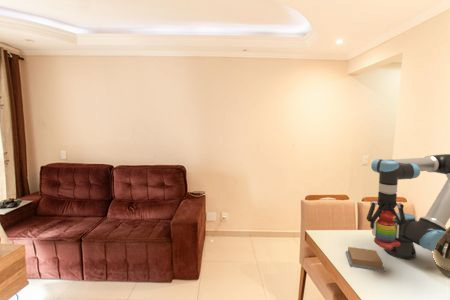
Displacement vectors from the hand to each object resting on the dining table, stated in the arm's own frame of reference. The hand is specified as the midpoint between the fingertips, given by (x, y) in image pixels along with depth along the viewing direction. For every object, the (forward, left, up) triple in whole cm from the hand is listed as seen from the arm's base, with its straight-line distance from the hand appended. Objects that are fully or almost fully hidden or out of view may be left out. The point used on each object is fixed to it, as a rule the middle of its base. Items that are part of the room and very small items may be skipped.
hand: (384, 235), depth 123 cm
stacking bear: (0, 0, -4) cm, 4 cm away
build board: (+7, -7, -19) cm, 22 cm away
